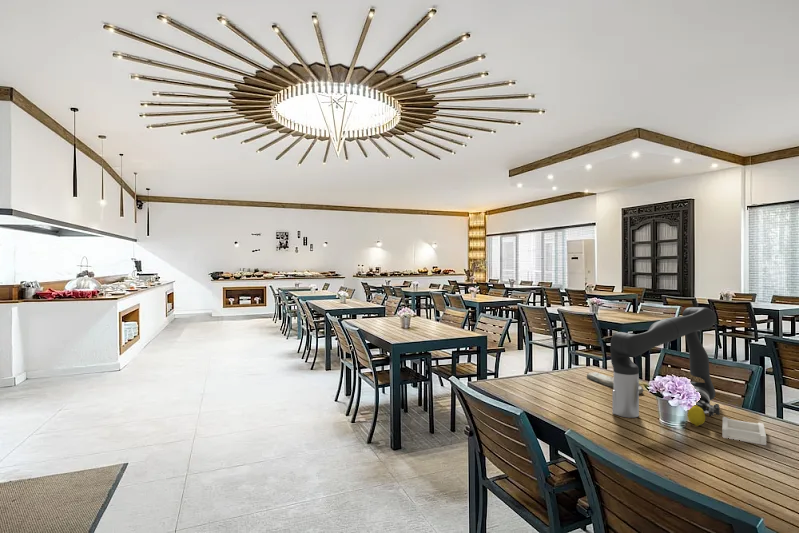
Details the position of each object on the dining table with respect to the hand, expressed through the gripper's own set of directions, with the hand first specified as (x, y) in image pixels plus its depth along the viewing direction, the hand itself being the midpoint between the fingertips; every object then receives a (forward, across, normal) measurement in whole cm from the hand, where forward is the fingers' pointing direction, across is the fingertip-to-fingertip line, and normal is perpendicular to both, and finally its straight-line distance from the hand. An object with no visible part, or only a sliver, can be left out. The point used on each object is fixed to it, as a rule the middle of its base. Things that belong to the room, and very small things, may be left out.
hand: (696, 411), depth 168 cm
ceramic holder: (-2, +14, +6) cm, 15 cm away
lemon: (-2, 0, +6) cm, 6 cm away
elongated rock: (-45, -37, +7) cm, 58 cm away
